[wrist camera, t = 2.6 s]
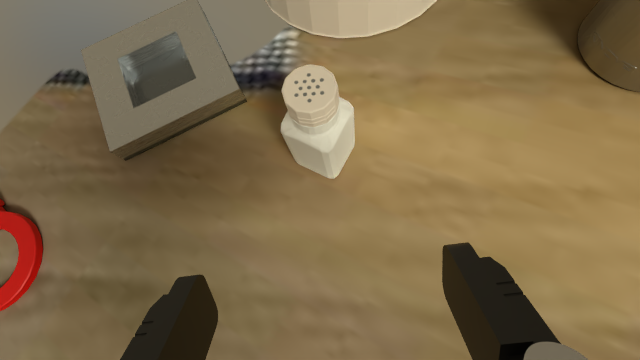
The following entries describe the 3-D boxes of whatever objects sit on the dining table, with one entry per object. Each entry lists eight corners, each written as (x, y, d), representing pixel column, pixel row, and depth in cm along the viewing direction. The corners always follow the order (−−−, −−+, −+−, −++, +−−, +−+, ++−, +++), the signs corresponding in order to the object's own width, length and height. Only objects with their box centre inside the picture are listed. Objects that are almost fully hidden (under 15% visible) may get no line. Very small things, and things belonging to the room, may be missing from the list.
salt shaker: (293, 163, 28) (261, 103, 19) (315, 124, 28) (295, 48, 20) (335, 183, 27) (323, 130, 18) (357, 142, 28) (357, 71, 19)
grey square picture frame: (204, 12, 34) (195, -4, 32) (246, 101, 30) (239, 88, 28) (96, 63, 33) (81, 50, 32) (125, 160, 29) (109, 151, 28)
